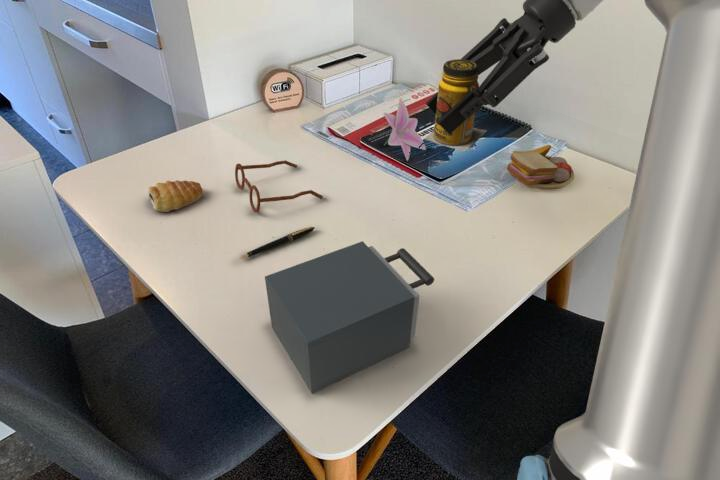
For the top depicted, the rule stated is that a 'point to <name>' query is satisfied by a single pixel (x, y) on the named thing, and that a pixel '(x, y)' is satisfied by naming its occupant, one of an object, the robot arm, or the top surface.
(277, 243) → the fountain pen
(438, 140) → the condiment
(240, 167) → the glasses
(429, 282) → the drawer
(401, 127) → the lily
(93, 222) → the top surface
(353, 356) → the cabinet
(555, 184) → the toy sandwich meal
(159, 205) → the pastry
